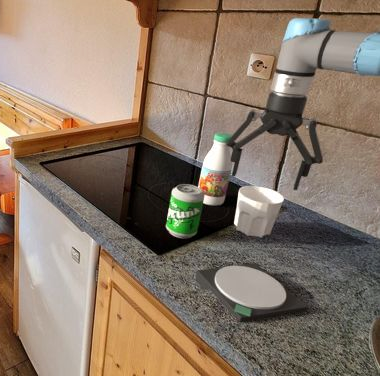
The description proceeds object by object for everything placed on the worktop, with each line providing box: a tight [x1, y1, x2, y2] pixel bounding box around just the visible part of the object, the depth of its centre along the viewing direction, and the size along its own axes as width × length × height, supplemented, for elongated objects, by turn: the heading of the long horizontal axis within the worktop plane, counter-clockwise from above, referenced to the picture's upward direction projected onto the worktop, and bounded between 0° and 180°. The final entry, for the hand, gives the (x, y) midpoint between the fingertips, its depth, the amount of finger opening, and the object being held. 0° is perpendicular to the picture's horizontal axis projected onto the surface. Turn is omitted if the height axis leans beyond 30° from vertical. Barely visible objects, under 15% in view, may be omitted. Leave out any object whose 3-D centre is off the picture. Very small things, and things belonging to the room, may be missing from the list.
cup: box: [233, 185, 285, 239], centre depth 102 cm, size 10×10×10 cm
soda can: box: [165, 183, 205, 239], centre depth 99 cm, size 8×8×12 cm
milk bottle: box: [197, 132, 233, 206], centre depth 115 cm, size 8×8×20 cm
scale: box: [195, 262, 308, 323], centre depth 79 cm, size 14×14×3 cm
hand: (263, 181), depth 99 cm, fingers open, 13 cm apart
